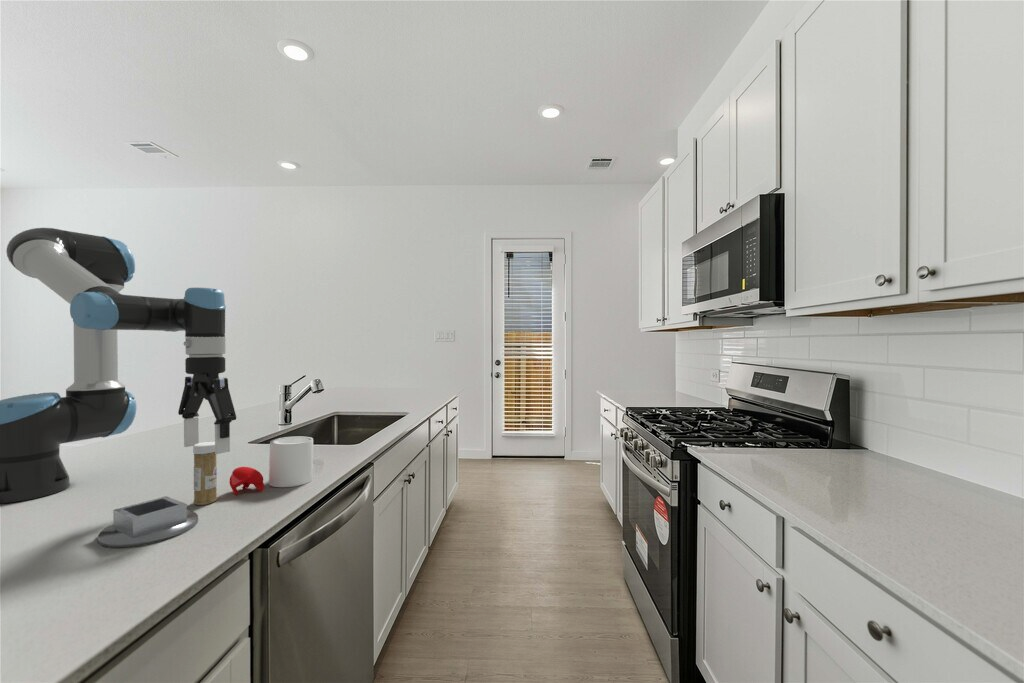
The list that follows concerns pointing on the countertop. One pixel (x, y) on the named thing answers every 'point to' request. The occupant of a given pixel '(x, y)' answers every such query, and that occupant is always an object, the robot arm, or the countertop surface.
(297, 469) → the mug
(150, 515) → the square hole disc
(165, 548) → the countertop surface
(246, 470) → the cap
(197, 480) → the sprinkles bottle
